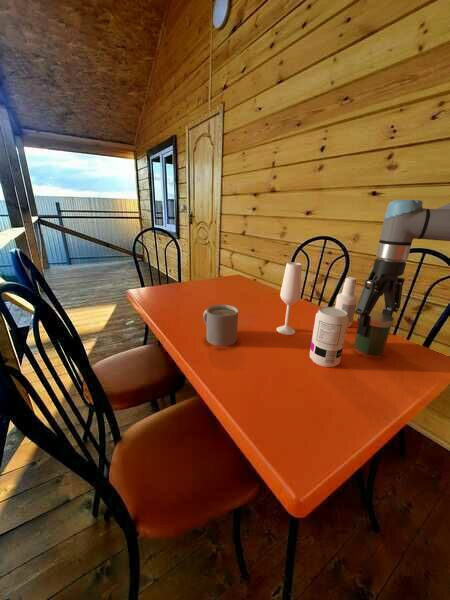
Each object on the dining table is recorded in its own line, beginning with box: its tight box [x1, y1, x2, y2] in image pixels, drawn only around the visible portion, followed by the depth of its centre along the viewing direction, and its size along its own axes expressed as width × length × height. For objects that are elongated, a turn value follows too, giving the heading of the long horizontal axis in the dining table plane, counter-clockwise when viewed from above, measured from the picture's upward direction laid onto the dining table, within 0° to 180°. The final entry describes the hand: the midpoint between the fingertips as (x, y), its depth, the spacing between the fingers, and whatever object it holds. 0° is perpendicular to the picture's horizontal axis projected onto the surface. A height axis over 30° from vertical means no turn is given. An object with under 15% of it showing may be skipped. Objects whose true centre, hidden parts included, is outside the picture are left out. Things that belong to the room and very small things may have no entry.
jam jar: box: [353, 325, 392, 357], centre depth 78 cm, size 8×8×10 cm
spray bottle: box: [334, 276, 358, 328], centre depth 94 cm, size 7×7×18 cm
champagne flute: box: [275, 261, 303, 336], centre depth 86 cm, size 7×7×24 cm
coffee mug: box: [202, 304, 239, 347], centre depth 83 cm, size 13×10×10 cm
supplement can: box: [308, 306, 349, 368], centre depth 70 cm, size 8×8×15 cm
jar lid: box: [358, 309, 395, 328], centre depth 76 cm, size 9×9×2 cm
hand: (372, 332), depth 78 cm, fingers closed on jar lid, 9 cm apart
